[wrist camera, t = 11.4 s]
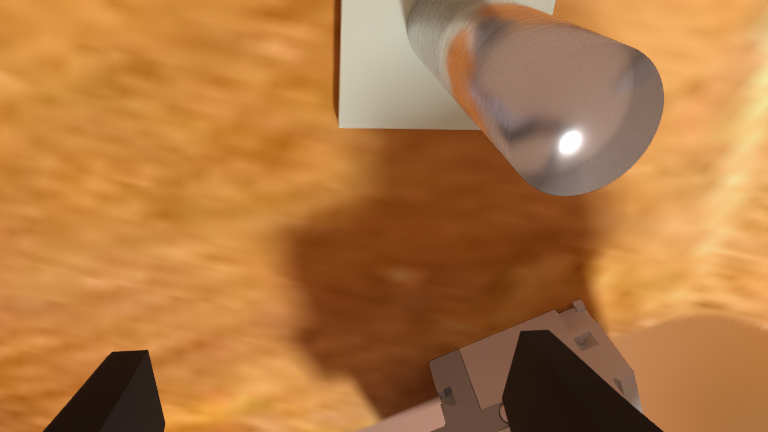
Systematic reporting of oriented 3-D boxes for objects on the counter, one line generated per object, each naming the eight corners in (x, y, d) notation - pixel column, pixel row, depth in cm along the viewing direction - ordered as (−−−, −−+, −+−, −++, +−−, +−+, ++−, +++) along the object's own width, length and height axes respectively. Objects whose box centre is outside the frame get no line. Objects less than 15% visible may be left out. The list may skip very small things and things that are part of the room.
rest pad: (337, 122, 18) (338, 128, 18) (343, -108, 15) (344, -109, 14) (520, 125, 19) (526, 130, 19) (566, -88, 16) (575, -88, 15)
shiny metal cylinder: (405, 69, 17) (499, 199, 9) (409, -22, 15) (524, 43, 8) (484, 68, 17) (637, 191, 10) (496, -21, 16) (686, 41, 8)
